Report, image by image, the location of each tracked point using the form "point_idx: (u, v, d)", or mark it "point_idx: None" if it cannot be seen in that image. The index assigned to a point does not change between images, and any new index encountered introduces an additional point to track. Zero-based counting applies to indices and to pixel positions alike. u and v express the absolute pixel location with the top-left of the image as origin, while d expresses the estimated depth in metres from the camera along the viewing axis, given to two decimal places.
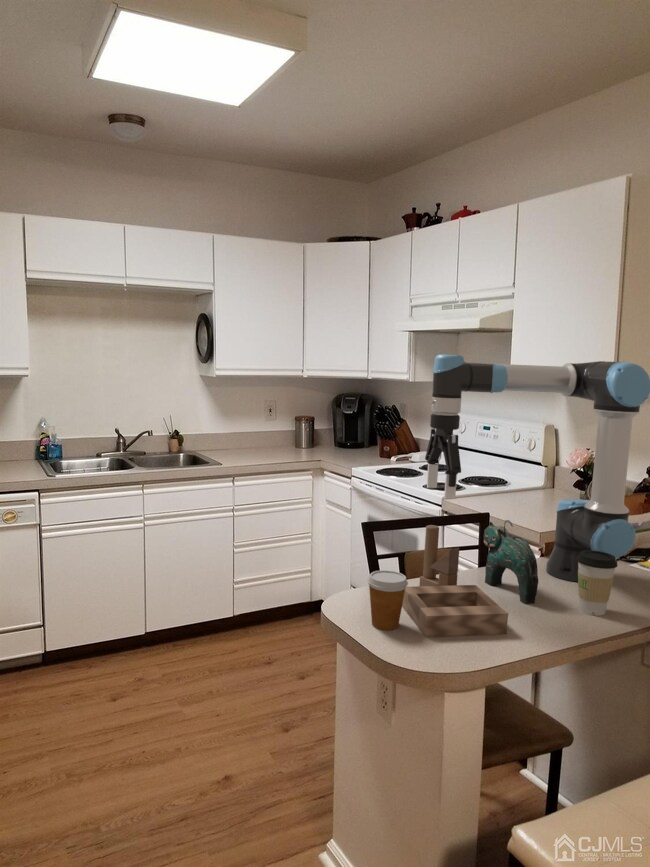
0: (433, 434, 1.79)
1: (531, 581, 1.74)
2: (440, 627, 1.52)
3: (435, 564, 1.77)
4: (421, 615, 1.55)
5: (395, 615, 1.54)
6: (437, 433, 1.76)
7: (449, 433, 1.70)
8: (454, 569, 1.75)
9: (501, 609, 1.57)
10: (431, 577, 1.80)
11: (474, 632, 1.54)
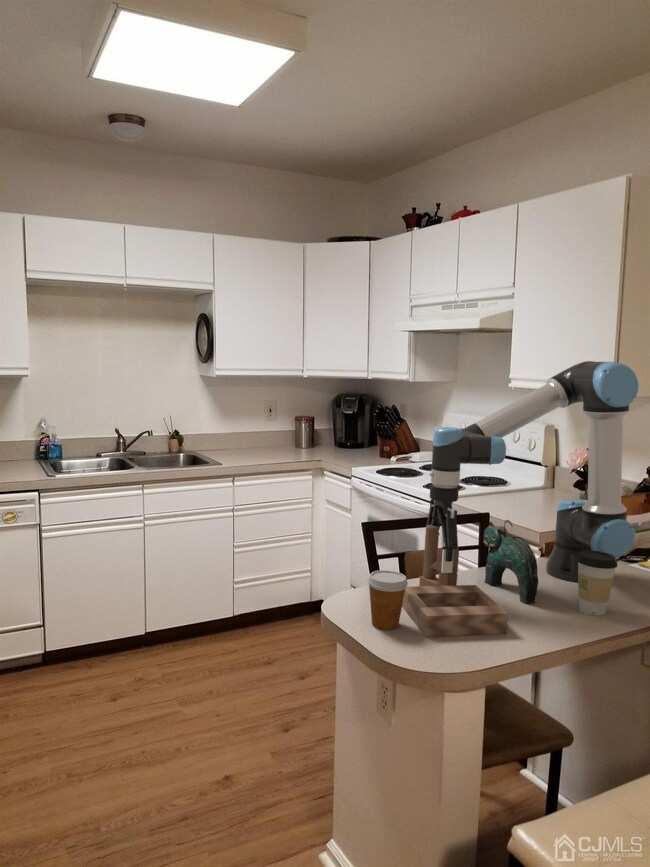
0: (432, 504, 1.82)
1: (531, 581, 1.74)
2: (440, 627, 1.52)
3: (435, 564, 1.78)
4: (421, 615, 1.55)
5: (395, 615, 1.54)
6: (436, 503, 1.79)
7: (448, 506, 1.73)
8: (454, 569, 1.75)
9: (501, 609, 1.57)
10: (431, 577, 1.81)
11: (474, 632, 1.54)
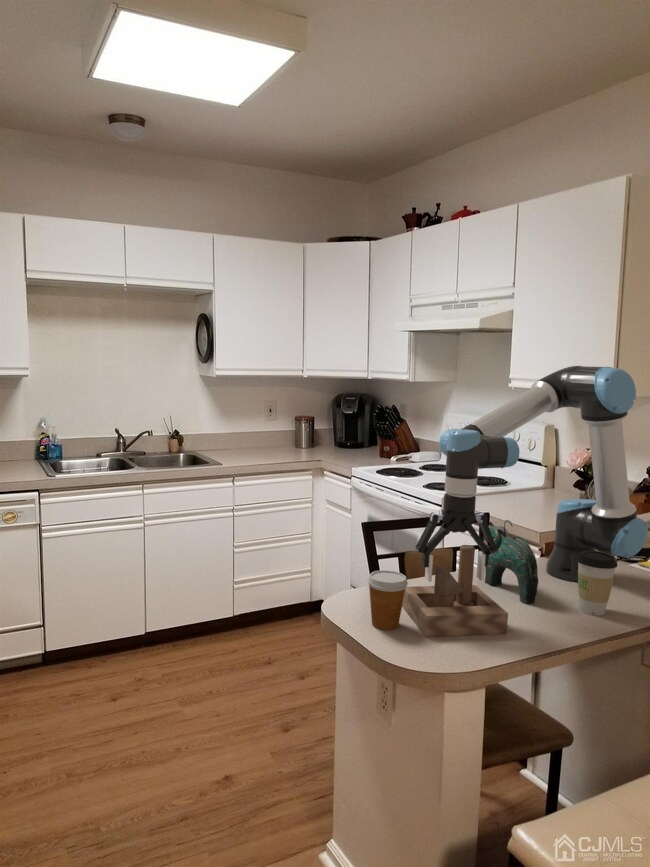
0: None
1: (531, 581, 1.74)
2: (440, 627, 1.52)
3: None
4: (421, 615, 1.55)
5: (395, 615, 1.54)
6: None
7: (444, 513, 1.59)
8: (440, 590, 1.59)
9: (501, 609, 1.57)
10: (457, 600, 1.64)
11: (474, 632, 1.54)
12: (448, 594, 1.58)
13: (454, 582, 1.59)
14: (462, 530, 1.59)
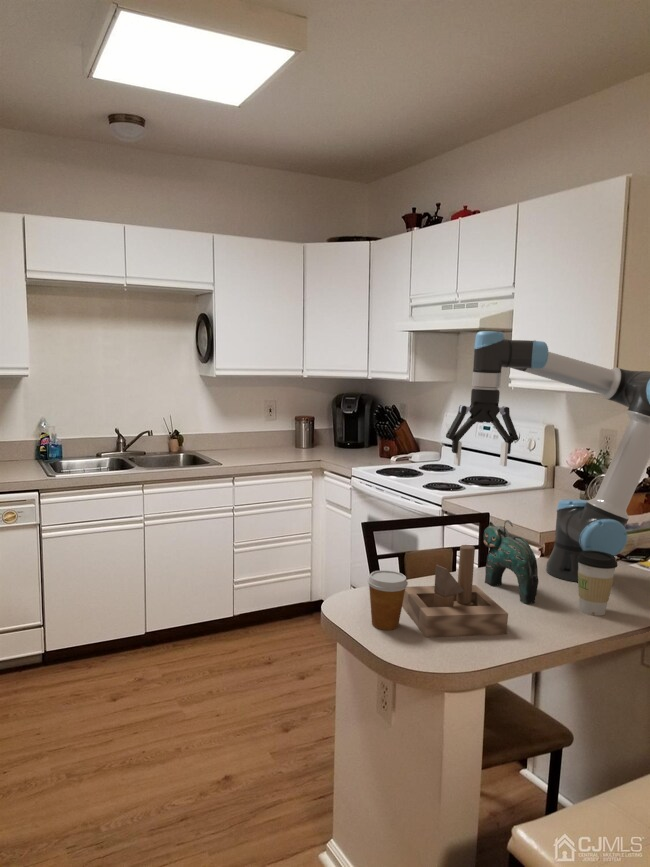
0: None
1: (531, 581, 1.74)
2: (440, 627, 1.52)
3: None
4: (421, 615, 1.55)
5: (395, 615, 1.54)
6: None
7: (471, 405, 1.80)
8: (440, 590, 1.59)
9: (501, 609, 1.57)
10: (457, 600, 1.64)
11: (474, 632, 1.54)
12: (448, 594, 1.58)
13: (454, 582, 1.59)
14: (487, 420, 1.80)
